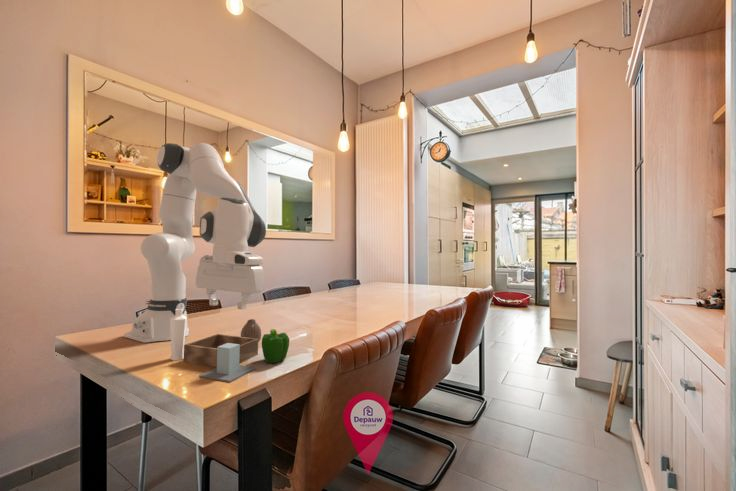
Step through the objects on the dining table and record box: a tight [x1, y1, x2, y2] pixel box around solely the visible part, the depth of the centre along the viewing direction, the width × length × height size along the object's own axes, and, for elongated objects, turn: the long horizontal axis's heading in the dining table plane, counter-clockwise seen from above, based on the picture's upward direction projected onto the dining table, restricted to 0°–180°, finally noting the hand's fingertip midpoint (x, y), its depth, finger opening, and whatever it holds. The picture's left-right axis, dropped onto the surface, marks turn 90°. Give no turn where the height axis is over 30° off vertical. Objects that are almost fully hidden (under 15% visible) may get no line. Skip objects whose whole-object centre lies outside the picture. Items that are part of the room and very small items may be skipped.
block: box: [217, 343, 240, 375], centre depth 89 cm, size 4×4×7 cm
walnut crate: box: [183, 333, 259, 368], centre depth 100 cm, size 16×14×5 cm
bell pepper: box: [261, 328, 290, 364], centre depth 99 cm, size 8×8×10 cm
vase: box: [240, 318, 262, 343], centre depth 115 cm, size 7×7×9 cm
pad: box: [198, 364, 256, 383], centre depth 89 cm, size 10×10×1 cm
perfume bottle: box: [169, 309, 188, 362], centre depth 99 cm, size 5×4×15 cm
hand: (227, 307), depth 89 cm, fingers open, 8 cm apart
